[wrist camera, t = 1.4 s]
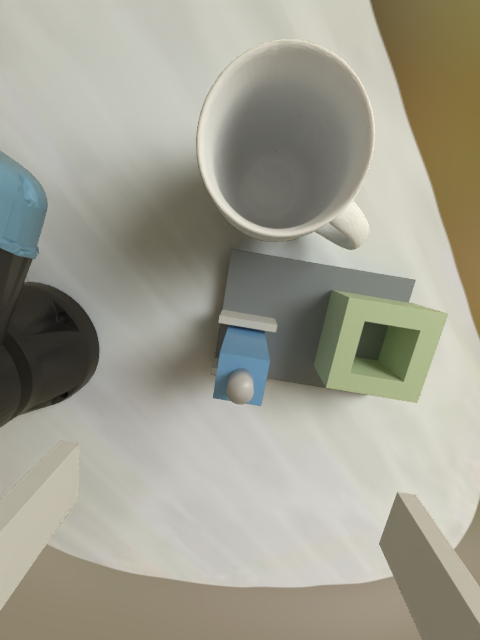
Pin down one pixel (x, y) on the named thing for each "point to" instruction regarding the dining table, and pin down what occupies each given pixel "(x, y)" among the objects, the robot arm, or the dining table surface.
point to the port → (396, 353)
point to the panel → (298, 308)
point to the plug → (242, 366)
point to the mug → (288, 144)
